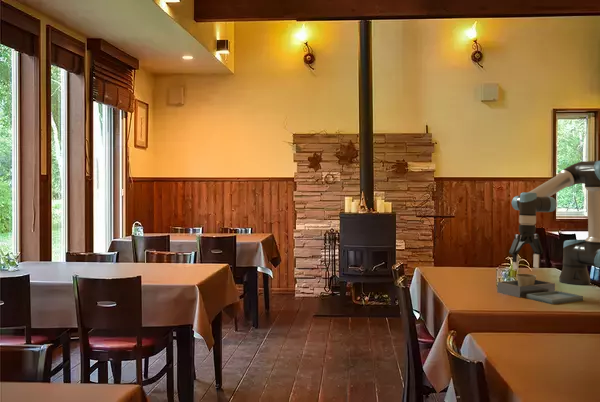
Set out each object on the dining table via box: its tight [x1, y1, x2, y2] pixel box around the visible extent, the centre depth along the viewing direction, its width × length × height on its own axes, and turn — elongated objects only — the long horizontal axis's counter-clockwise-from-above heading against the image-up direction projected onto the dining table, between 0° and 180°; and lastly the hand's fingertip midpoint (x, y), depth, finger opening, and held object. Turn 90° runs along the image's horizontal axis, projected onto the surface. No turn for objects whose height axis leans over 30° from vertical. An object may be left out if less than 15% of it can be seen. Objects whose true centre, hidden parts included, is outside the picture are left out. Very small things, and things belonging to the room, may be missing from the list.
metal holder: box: [496, 279, 556, 298], centre depth 275 cm, size 23×14×5 cm, turn 116°
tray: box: [526, 290, 584, 305], centre depth 261 cm, size 20×14×2 cm
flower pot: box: [516, 273, 538, 286], centre depth 275 cm, size 9×9×9 cm
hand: (525, 268), depth 275 cm, fingers open, 13 cm apart
